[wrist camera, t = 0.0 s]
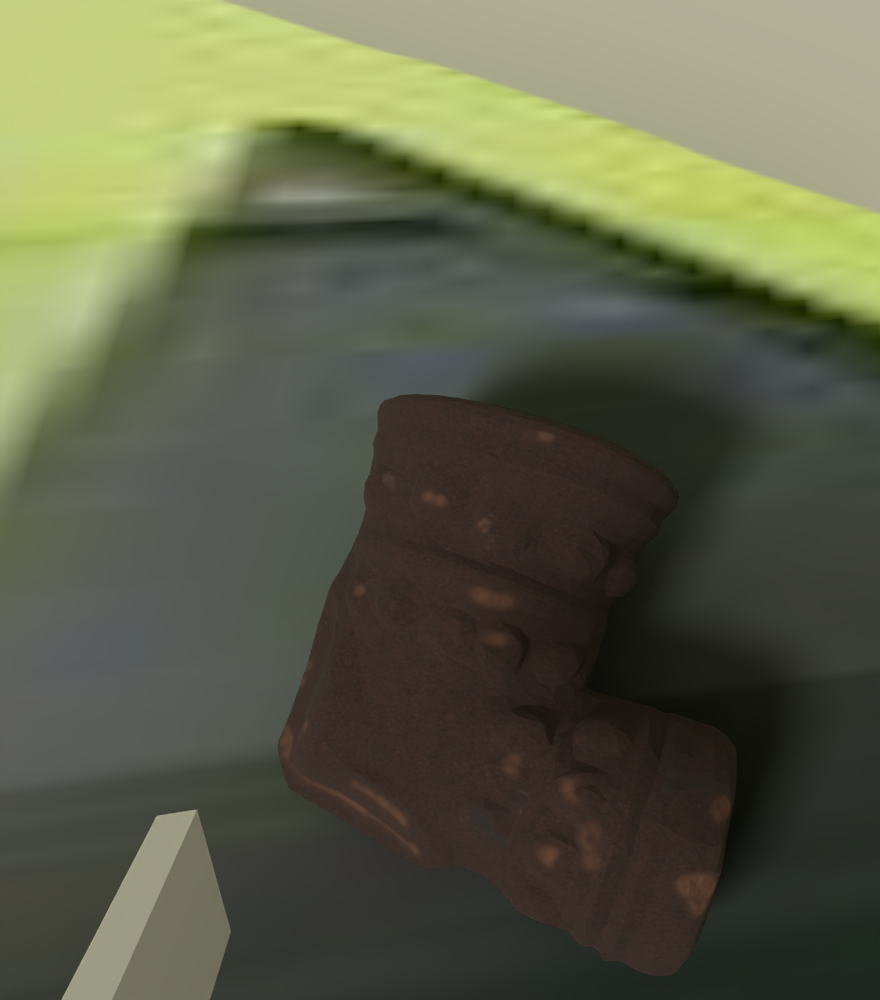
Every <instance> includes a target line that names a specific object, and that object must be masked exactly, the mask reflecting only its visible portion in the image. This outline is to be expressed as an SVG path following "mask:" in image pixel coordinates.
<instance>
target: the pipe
mask: <svg viewBox="0 0 880 1000" xmlns="http://www.w3.org/2000/svg"><path fill="white" fill-rule="evenodd" d="M373 447H374V457H373V462H372V466H371V471H370V475H369V477H368V478H367V480H366V482H365V490H364V501H365V506H366V511H365V516H364V519H363V522H362V525H361V528H360V531H359V534H358V536H357V538H356V540H355V542H354V544H353V547H352V549H351V551H350V553H349V555H348V557H347V558H346V560H345V562H344V564H343V566H342V568H341V570H340V572H339V573H338V575H337V576H336V578H335V579H334V581H333V582H332V584H331V587H330V589H329V592H328V596H327V599H326V602H325V605H324V608H323V611H322V615H321V618H320V620H319V624H318V628H317V631H316V635H315V639H314V642H313V646H312V650H311V654H310V657H309V661H308V664H307V667H306V670H305V673H304V676H303V678H302V681H301V684H300V687H299V690H298V693H297V695H296V698H295V701H294V704H293V707H292V710H291V712H290V715H289V718H288V720H287V723H286V725H285V727H284V730H283V732H282V734H281V737H280V739H279V742H278V750H279V758H280V762H281V766H282V770H283V773H284V776H285V779H286V782H287V784H288V787H289V788H290V789H291V790H292V791H293V792H295V793H297V794H298V795H300V796H302V797H304V798H305V799H307V800H309V801H311V802H312V803H314V804H316V805H318V806H319V807H321V808H323V809H325V810H326V811H328V812H330V813H331V814H333V815H335V816H337V817H338V818H340V819H342V820H343V821H345V822H347V823H348V824H350V825H351V826H353V827H355V828H356V829H358V830H360V831H361V832H363V833H365V834H366V835H368V836H370V837H371V838H373V839H374V840H376V841H378V842H379V843H381V844H382V845H384V846H385V847H387V848H388V849H390V850H391V851H393V852H394V853H396V854H397V855H399V856H400V857H402V858H403V859H405V860H407V861H409V862H411V863H413V864H415V865H417V866H420V867H425V868H441V867H450V866H453V867H459V868H465V869H469V870H471V871H473V872H475V873H477V874H479V875H481V876H483V877H485V878H487V879H488V880H489V881H490V882H492V883H493V884H494V885H495V886H497V888H498V889H499V891H500V892H501V893H502V894H503V895H504V896H505V897H506V898H507V899H508V900H509V901H510V902H511V904H512V905H513V906H514V908H515V909H516V910H517V911H519V912H521V913H522V914H524V915H526V916H527V917H529V918H531V919H533V920H536V921H539V922H541V923H544V924H548V925H552V926H554V927H556V928H558V929H562V930H566V931H568V932H569V933H570V934H571V935H572V937H573V938H574V940H575V941H576V942H577V943H578V944H579V945H581V946H582V947H593V948H595V949H596V950H597V951H598V952H600V955H601V959H603V960H604V961H621V962H623V963H625V964H626V965H628V966H630V967H632V968H633V969H635V970H637V971H639V972H641V973H644V974H649V975H653V976H667V975H672V974H675V973H676V972H677V970H678V969H679V968H680V967H681V966H682V965H683V963H684V962H685V961H686V959H687V958H688V957H689V955H690V953H691V952H692V950H693V948H694V946H695V945H696V943H697V941H698V938H699V936H700V933H701V931H702V928H703V926H704V923H705V921H706V918H707V915H708V912H709V908H710V905H711V902H712V899H713V896H714V893H715V890H716V887H717V884H718V881H719V878H720V875H721V872H722V867H723V861H724V854H725V848H726V842H727V836H728V830H729V824H730V819H731V815H732V811H733V807H734V801H735V790H736V780H737V757H736V749H735V746H734V745H733V743H732V742H731V741H730V740H729V739H728V738H727V737H726V736H725V735H724V734H723V733H722V732H720V731H719V730H717V729H716V728H715V727H713V726H711V725H708V724H704V723H701V722H698V721H695V720H692V719H689V718H686V717H683V716H681V715H678V714H673V713H664V712H661V711H659V710H658V709H656V708H654V707H652V706H648V705H643V704H639V703H636V702H633V701H629V700H626V699H622V698H618V697H614V696H611V695H607V694H603V693H600V692H596V691H592V690H590V689H588V688H587V682H588V680H589V677H590V675H591V672H592V670H593V667H594V664H595V661H596V659H597V656H598V652H599V648H600V643H601V639H602V637H603V634H604V632H605V629H606V626H607V617H608V614H609V612H610V610H611V608H612V606H613V604H614V601H615V600H616V599H620V598H622V597H623V596H624V595H625V594H626V593H627V592H628V591H629V590H630V589H631V588H632V587H633V586H634V585H635V584H636V579H637V566H636V563H635V560H636V559H637V557H638V555H639V553H640V551H641V549H642V547H643V546H644V545H645V544H647V543H648V542H649V541H650V540H651V539H652V538H653V537H655V536H656V535H657V533H658V531H659V528H660V525H661V522H662V520H663V519H664V518H665V517H666V516H667V515H668V514H669V513H670V512H671V511H672V510H674V509H675V508H676V504H677V501H678V498H679V496H678V492H677V490H676V489H675V487H674V486H673V485H672V483H671V482H670V480H669V479H668V478H667V477H666V476H665V475H664V474H663V473H661V472H660V471H659V470H658V469H657V468H655V467H654V466H653V465H651V464H650V463H648V462H646V461H645V460H643V459H641V458H640V457H638V456H637V455H635V454H633V453H632V452H630V451H628V450H626V449H624V448H621V447H619V446H617V445H615V444H613V443H611V442H608V441H606V440H604V439H601V438H599V437H596V436H594V435H592V434H589V433H587V432H584V431H582V430H579V429H577V428H574V427H571V426H567V425H564V424H561V423H557V422H554V421H551V420H547V419H544V418H541V417H538V416H534V415H530V414H527V413H523V412H519V411H516V410H512V409H508V408H504V407H499V406H494V405H489V404H485V403H480V402H475V401H470V400H465V399H461V398H453V397H446V396H439V395H419V394H412V395H400V396H397V397H394V398H391V399H388V400H385V401H384V402H383V403H382V404H381V405H380V407H379V410H378V431H377V433H376V436H375V439H374V442H373Z"/></svg>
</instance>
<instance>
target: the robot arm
mask: <svg viewBox="0 0 880 1000" xmlns="http://www.w3.org/2000/svg"><path fill="white" fill-rule="evenodd" d="M230 933H231V930H230V927H229V923H228V919H227V916H226V912H225V909H224V905H223V901H222V898H221V894H220V891H219V887H218V883H217V880H216V876H215V873H214V869H213V865H212V862H211V858H210V855H209V851H208V847H207V844H206V840H205V837H204V833H203V829H202V826H201V822H200V819H199V815H198V811H197V810H191V811H185V812H178V813H172V814H165V815H159V816H157V817H156V818H155V820H154V822H153V824H152V826H151V828H150V830H149V832H148V834H147V836H146V838H145V840H144V842H143V844H142V846H141V847H140V849H139V851H138V853H137V855H136V857H135V859H134V861H133V863H132V865H131V867H130V869H129V871H128V873H127V874H126V876H125V878H124V880H123V882H122V884H121V886H120V888H119V890H118V892H117V894H116V896H115V898H114V900H113V902H112V903H111V905H110V907H109V909H108V911H107V913H106V915H105V917H104V919H103V921H102V923H101V925H100V927H99V929H98V930H97V932H96V934H95V936H94V938H93V940H92V942H91V944H90V946H89V948H88V950H87V952H86V954H85V956H84V958H83V959H82V961H81V963H80V965H79V967H78V969H77V971H76V973H75V975H74V977H73V979H72V981H71V983H70V985H69V986H68V988H67V990H66V992H65V994H64V996H63V998H62V1000H210V997H211V994H212V991H213V988H214V984H215V981H216V978H217V975H218V971H219V968H220V965H221V962H222V958H223V955H224V952H225V949H226V945H227V942H228V939H229V936H230Z"/></svg>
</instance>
